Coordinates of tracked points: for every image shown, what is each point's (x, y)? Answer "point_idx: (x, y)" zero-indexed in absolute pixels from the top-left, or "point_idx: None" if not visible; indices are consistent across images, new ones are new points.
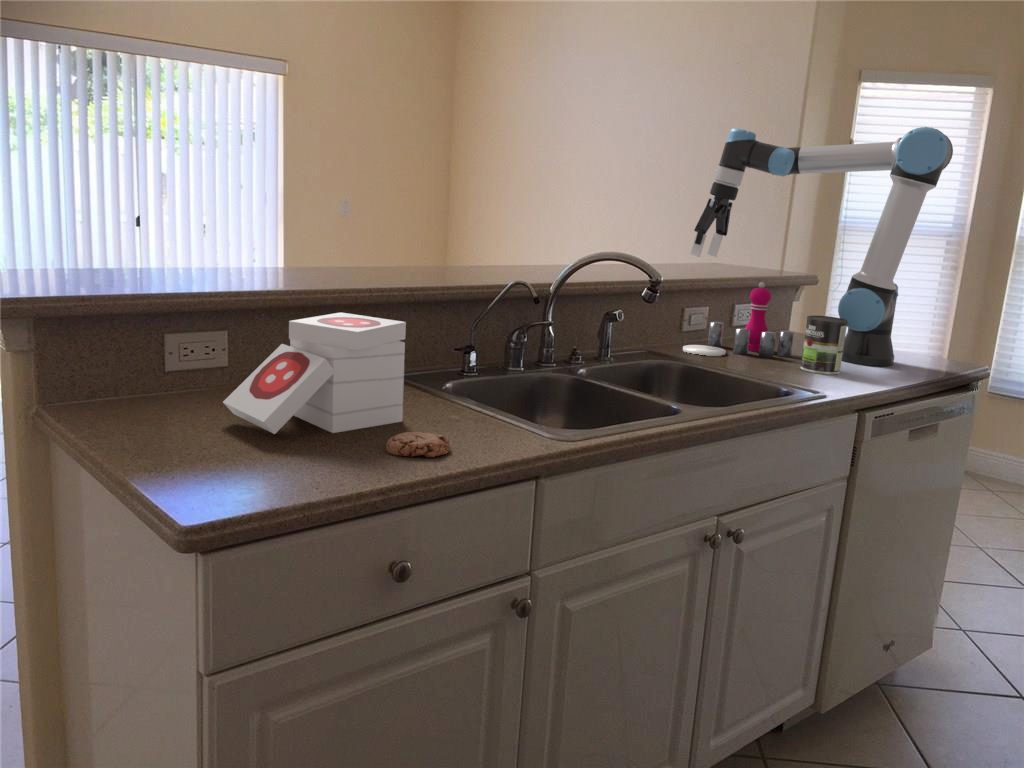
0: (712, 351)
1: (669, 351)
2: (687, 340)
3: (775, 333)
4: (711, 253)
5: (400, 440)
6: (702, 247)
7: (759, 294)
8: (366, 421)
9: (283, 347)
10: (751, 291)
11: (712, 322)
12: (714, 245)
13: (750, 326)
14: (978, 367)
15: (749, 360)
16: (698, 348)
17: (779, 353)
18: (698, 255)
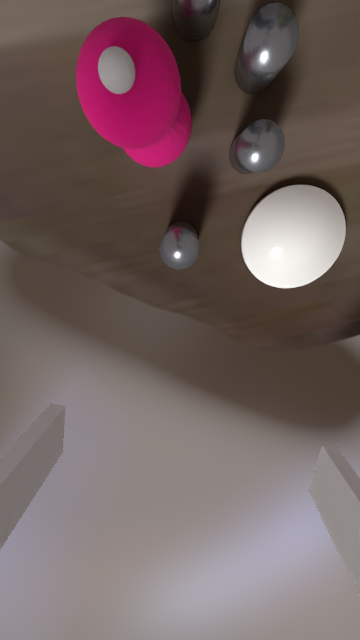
0: (319, 214)
1: (324, 303)
2: (154, 305)
3: (279, 4)
4: (59, 438)
5: None
6: (356, 491)
7: (177, 82)
8: None
9: None
10: (139, 139)
11: (185, 261)
12: (31, 475)
13: (179, 137)
14: None
15: (341, 103)
16: (297, 252)
17: (212, 25)
18: (340, 456)
